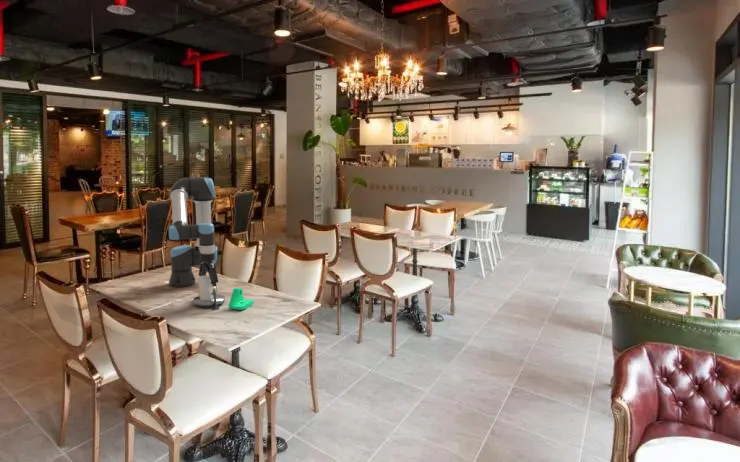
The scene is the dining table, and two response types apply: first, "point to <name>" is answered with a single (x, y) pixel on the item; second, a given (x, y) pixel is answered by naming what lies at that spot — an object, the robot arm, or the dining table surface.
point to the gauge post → (212, 291)
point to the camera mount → (239, 300)
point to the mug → (205, 287)
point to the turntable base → (207, 306)
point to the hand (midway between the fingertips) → (208, 292)
